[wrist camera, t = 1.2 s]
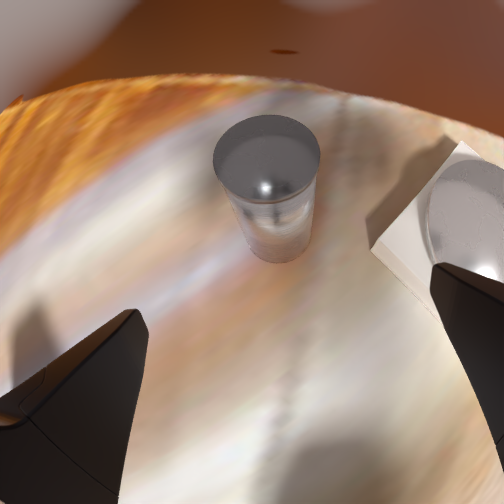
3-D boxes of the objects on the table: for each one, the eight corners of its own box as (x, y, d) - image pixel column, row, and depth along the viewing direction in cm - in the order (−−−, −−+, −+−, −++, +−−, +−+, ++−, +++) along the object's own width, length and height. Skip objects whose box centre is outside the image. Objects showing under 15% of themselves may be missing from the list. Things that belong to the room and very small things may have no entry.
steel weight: (326, 232, 23) (342, 153, 14) (276, 278, 22) (262, 221, 13) (279, 190, 25) (268, 101, 15) (231, 231, 24) (193, 156, 15)
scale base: (543, 252, 19) (558, 244, 17) (481, 371, 18) (498, 371, 15) (452, 154, 24) (462, 139, 21) (370, 250, 22) (377, 238, 20)
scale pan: (546, 241, 19) (567, 228, 16) (486, 362, 17) (511, 361, 14) (462, 150, 23) (475, 128, 20) (381, 247, 21) (394, 229, 18)
